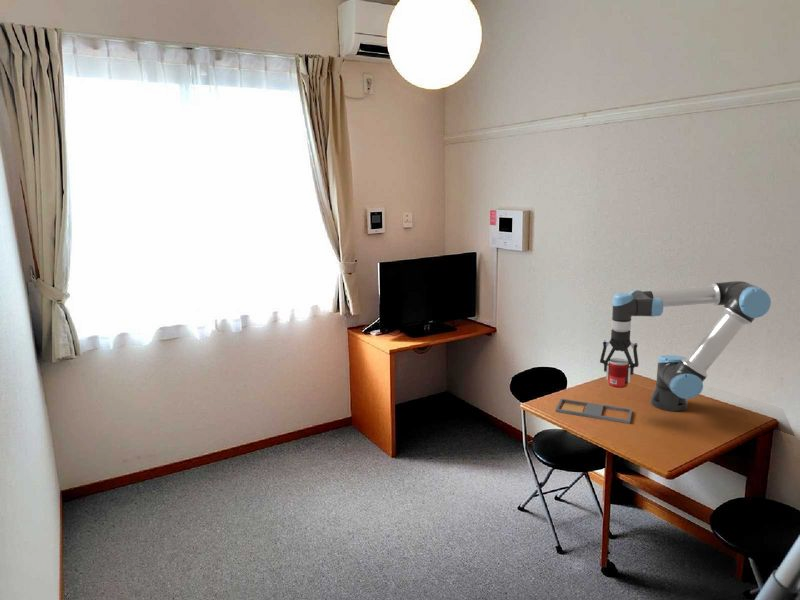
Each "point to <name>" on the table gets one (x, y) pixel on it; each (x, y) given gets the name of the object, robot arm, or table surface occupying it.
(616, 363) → the canned food
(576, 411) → the rail frame
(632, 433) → the table surface
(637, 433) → the table surface
